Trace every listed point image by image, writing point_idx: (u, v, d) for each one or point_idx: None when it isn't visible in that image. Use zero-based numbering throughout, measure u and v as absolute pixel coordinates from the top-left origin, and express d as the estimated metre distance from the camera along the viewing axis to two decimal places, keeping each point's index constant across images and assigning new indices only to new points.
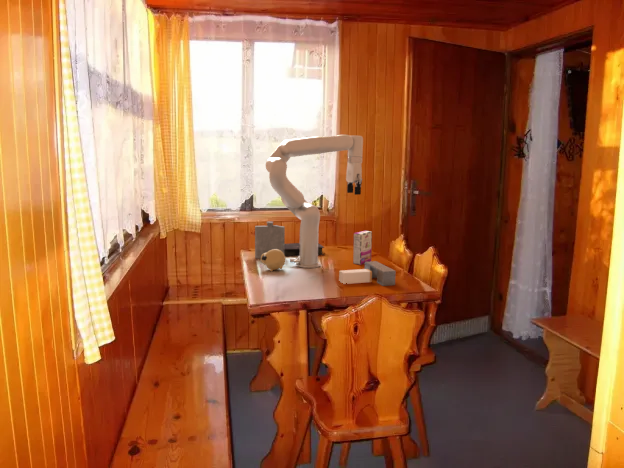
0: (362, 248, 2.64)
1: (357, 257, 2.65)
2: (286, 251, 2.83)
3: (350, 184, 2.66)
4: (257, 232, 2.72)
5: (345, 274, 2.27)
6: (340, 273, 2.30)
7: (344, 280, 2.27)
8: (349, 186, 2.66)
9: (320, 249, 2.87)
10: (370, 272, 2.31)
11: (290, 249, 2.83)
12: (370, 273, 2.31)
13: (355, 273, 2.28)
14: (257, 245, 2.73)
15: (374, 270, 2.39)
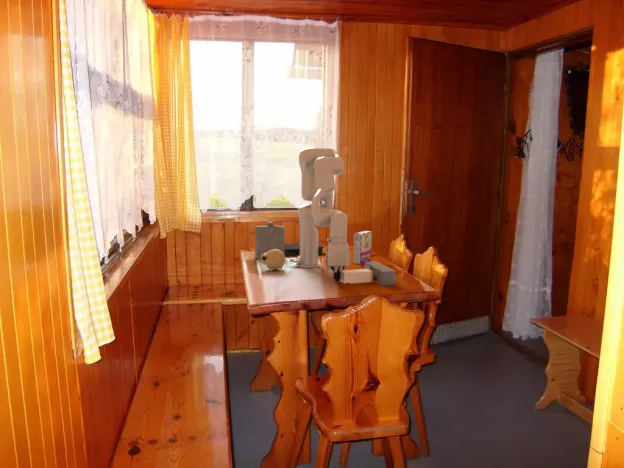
0: (362, 248, 2.64)
1: (357, 257, 2.65)
2: (287, 251, 2.82)
3: None
4: (257, 232, 2.72)
5: (346, 274, 2.27)
6: (341, 273, 2.30)
7: (345, 280, 2.27)
8: None
9: (321, 249, 2.88)
10: (371, 272, 2.31)
11: (291, 249, 2.82)
12: (371, 273, 2.31)
13: (356, 273, 2.28)
14: (257, 245, 2.73)
15: (374, 270, 2.39)
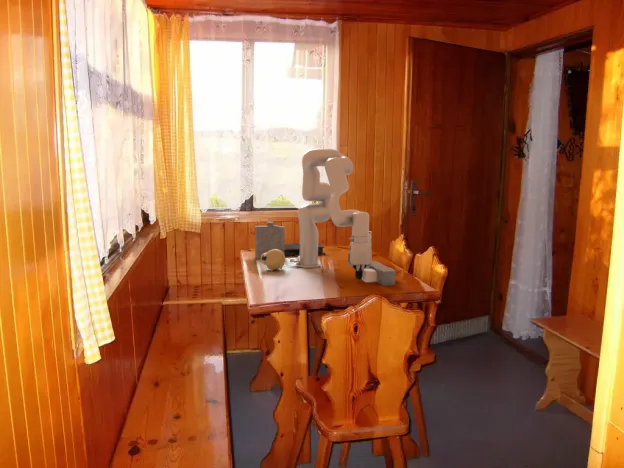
0: None
1: None
2: (287, 251, 2.82)
3: None
4: (257, 232, 2.72)
5: (368, 272, 2.30)
6: (363, 271, 2.33)
7: (367, 278, 2.31)
8: None
9: (321, 249, 2.88)
10: None
11: (291, 249, 2.82)
12: None
13: None
14: (257, 245, 2.73)
15: None
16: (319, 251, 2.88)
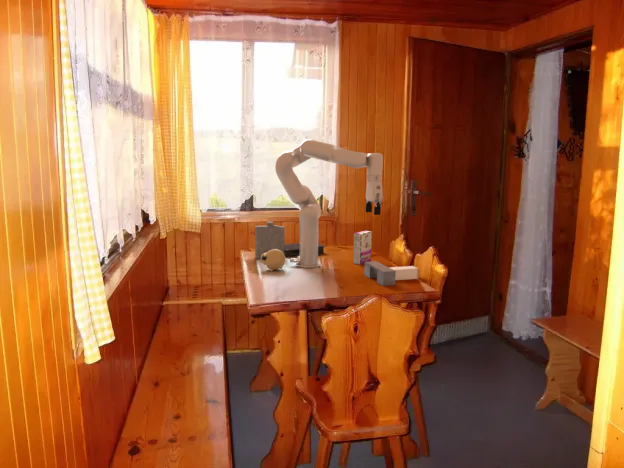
0: (362, 248, 2.64)
1: (357, 257, 2.65)
2: (290, 252, 2.81)
3: None
4: (257, 232, 2.72)
5: None
6: None
7: None
8: None
9: (322, 248, 2.89)
10: (417, 269, 2.38)
11: (294, 250, 2.81)
12: (417, 270, 2.38)
13: (403, 270, 2.36)
14: (257, 245, 2.73)
15: (374, 270, 2.39)
16: (320, 250, 2.89)
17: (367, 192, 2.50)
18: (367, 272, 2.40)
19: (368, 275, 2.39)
